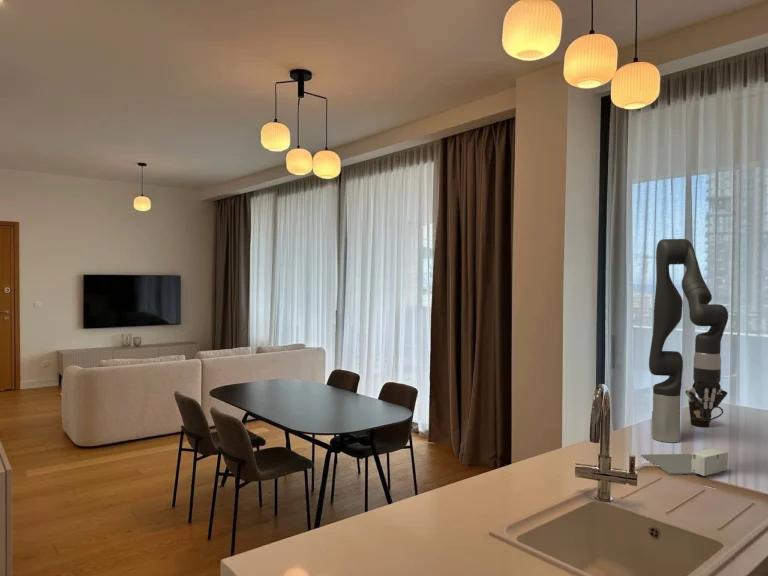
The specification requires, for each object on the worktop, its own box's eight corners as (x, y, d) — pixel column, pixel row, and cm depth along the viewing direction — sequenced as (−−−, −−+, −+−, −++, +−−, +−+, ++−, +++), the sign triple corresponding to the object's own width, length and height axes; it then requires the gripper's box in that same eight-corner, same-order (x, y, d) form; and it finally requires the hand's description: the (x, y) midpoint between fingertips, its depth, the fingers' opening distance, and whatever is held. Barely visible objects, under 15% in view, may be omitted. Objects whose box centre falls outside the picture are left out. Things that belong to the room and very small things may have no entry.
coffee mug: (683, 423, 225) (683, 399, 225) (696, 421, 229) (697, 397, 228) (710, 431, 215) (710, 406, 214) (724, 428, 218) (724, 403, 218)
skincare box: (727, 470, 171) (705, 477, 166) (713, 465, 175) (690, 472, 170) (728, 451, 171) (705, 457, 165) (713, 446, 175) (691, 453, 169)
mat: (641, 456, 186) (641, 454, 186) (689, 455, 186) (689, 453, 186) (669, 475, 169) (669, 473, 169) (722, 474, 170) (722, 472, 169)
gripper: (719, 363, 178) (717, 415, 179) (680, 364, 177) (678, 416, 178) (735, 368, 171) (733, 422, 172) (694, 368, 170) (692, 423, 171)
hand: (705, 419), depth 175 cm, fingers closed
